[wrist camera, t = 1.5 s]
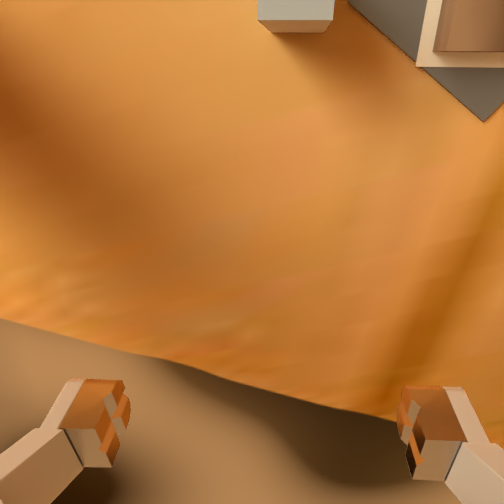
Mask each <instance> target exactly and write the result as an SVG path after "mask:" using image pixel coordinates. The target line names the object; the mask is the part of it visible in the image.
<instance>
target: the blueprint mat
mask: <svg viewBox="0 0 504 504" xmlns="http://www.w3.org/2000/svg"><path fill="white" fill-rule="evenodd" d="M348 3H349V4H350V5H351V6H353V7H354V8H355V9H356V10H357V11H358V12H359V13H361V14H362V15H363V16H364V17H365V18H366V19H367V20H368V21H370V22H371V23H372V24H373V25H374V26H375V27H376V28H377V29H379V30H380V31H381V32H382V33H383V34H384V35H385V36H386V37H388V38H389V39H390V40H391V41H392V42H393V43H394V44H396V45H397V46H398V47H399V48H400V49H401V50H402V51H403V52H405V53H406V54H407V55H408V56H409V57H410V58H411V59H412V60H414V61H415V62H416V66H415V67H422V68H423V69H424V70H425V71H426V72H427V73H428V74H429V75H431V76H432V77H433V78H434V79H435V80H436V81H437V82H438V83H440V84H441V85H442V86H443V87H444V88H445V89H446V90H448V91H449V92H450V93H451V94H452V95H453V96H454V97H455V98H457V99H458V100H459V101H460V102H461V103H462V104H463V105H464V106H466V107H467V108H468V109H469V110H470V111H471V112H472V113H473V114H475V115H476V116H477V117H478V118H479V119H480V120H481V121H483V122H484V121H485V120H486V119H487V118H488V117H489V116H490V115H491V114H492V113H493V112H494V111H495V110H496V109H497V108H498V107H499V106H500V105H501V104H502V103H503V102H504V52H432V51H433V46H434V41H435V36H436V31H437V26H438V20H439V15H440V10H441V5H442V0H350V1H349V2H348Z"/></svg>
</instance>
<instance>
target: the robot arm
mask: <svg viewBox="0 0 504 504" xmlns="http://www.w3.org/2000/svg"><path fill="white" fill-rule="evenodd" d="M124 389H125V387H124V384H123V381H122V380H102V379H101V380H100V379H78V378H71V379H70V380H69V381H68V382H67V383H66V384H65V385H64V387H63V389H62V391H61V392H60V394H59V396H58V397H57V399H56V401H55V403H54V405H53V406H52V408H51V409H50V412H49V413H48V415H47V416H46V418H45V420H44V422H43V423H42V425H41V427H40V428H39V429H38V428H35V429H33V430H32V431H31V432H29V433H28V434H27V435H25V436H24V437H23V438H21V439H20V440H19V441H17V442H16V443H15V444H14V445H12V446H11V447H10V448H8V449H7V450H6V451H4V452H3V453H2V454H0V504H51V503H52V501H53V500H54V499H55V498H56V497H57V496H58V495H59V494H60V493H61V492H62V491H63V490H64V489H65V488H66V486H68V485H69V483H70V482H71V481H72V480H73V479H74V478H75V477H76V476H77V475H78V474H79V473H80V472H81V471H82V470H83V467H112V466H113V463H114V461H115V458H116V455H117V452H118V450H119V447H120V442H119V439H118V437H119V436H120V435H121V434H122V433H123V432H124V431H125V430H126V428H127V425H128V422H129V418H130V411H131V409H130V401H129V398H128V397H127V396H126V395H124V394H123V391H124ZM401 396H402V399H403V401H402V402H401V403H399V404H398V408H397V425H398V430H399V434H400V438H401V440H403V442H404V443H405V444H406V445H407V446H408V447H407V450H406V454H405V456H406V459H407V463H408V466H409V470H410V473H411V477H412V479H417V480H431V481H446V482H445V484H446V485H447V486H448V487H449V488H450V490H451V491H452V492H453V493H454V494H455V496H456V497H457V498H458V499H459V500H460V502H461V503H462V504H504V449H503V448H501V447H500V446H499V445H498V444H497V443H490V441H489V439H488V437H487V435H486V433H485V431H484V429H483V427H482V425H481V423H480V421H479V419H478V417H477V415H476V413H475V411H474V408H473V406H472V404H471V402H470V400H469V398H468V396H467V394H466V392H465V390H464V389H463V388H462V387H441V386H404V387H403V388H402V392H401Z"/></svg>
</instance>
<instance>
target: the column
mask: <svg viewBox="0 0 504 504" xmlns="http://www.w3.org/2000/svg"><path fill="white" fill-rule="evenodd" d="M334 3H335V0H258V21H259V22H260V23H261V24H262V25H264V26H265V27H266V28H267V29H268V30H269V31H270V32H271V33H324V31H325V30H326V29H327V27H328V26H329V25H330V23H331V22H332V21H333V14H334Z"/></svg>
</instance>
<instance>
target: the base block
mask: <svg viewBox="0 0 504 504" xmlns="http://www.w3.org/2000/svg"><path fill="white" fill-rule="evenodd" d="M432 52H504V0H442V5H441V10H440V15H439V20H438V26H437V31H436V36H435V41H434V46H433V51H432Z"/></svg>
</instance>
